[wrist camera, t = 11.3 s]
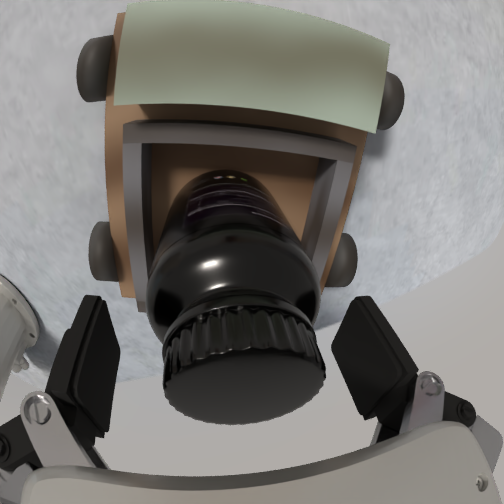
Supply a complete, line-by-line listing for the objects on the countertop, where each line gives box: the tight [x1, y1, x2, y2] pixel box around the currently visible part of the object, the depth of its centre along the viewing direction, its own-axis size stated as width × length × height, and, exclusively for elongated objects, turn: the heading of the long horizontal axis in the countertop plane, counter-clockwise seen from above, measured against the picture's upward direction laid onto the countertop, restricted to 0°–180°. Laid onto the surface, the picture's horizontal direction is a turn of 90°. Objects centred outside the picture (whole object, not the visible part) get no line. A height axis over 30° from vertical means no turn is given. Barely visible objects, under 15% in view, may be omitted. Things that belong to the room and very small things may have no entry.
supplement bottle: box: [145, 169, 326, 425], centre depth 12 cm, size 7×7×12 cm
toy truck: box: [77, 0, 404, 312], centre depth 15 cm, size 20×19×7 cm
